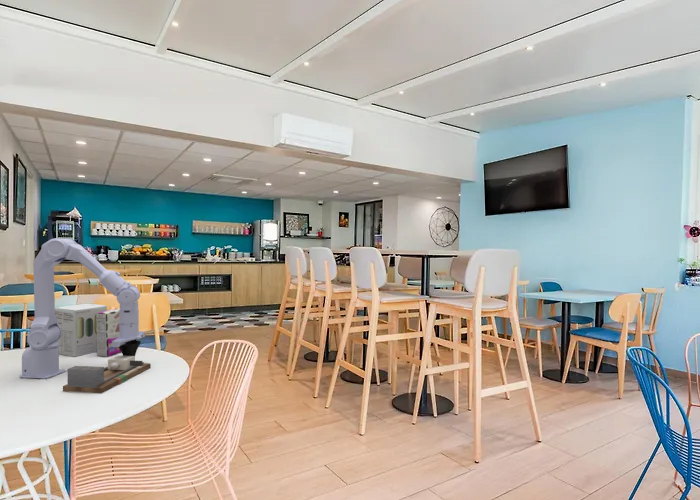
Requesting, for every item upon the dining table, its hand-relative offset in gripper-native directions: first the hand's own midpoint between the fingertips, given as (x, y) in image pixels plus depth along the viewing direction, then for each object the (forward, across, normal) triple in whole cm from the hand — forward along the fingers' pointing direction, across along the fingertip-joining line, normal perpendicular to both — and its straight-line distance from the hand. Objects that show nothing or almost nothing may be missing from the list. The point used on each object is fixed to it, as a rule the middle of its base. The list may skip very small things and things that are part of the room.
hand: (129, 363), depth 142 cm
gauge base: (+2, -10, 0) cm, 10 cm away
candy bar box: (+2, +18, +19) cm, 27 cm away
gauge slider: (0, -5, -2) cm, 5 cm away
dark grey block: (0, -20, 0) cm, 20 cm away
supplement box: (+2, +20, +33) cm, 38 cm away
